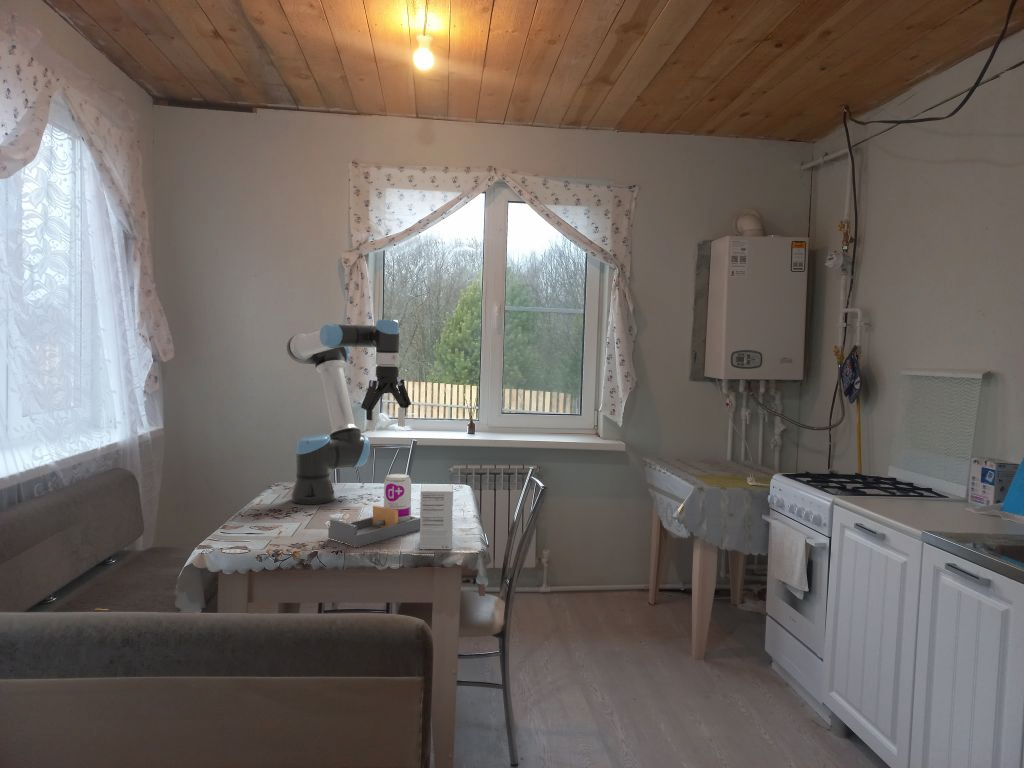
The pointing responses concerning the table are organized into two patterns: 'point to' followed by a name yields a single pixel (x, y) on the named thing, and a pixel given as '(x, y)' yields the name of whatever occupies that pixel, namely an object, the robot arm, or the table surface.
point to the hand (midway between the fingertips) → (386, 428)
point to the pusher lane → (368, 530)
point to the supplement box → (436, 516)
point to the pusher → (384, 516)
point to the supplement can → (398, 495)
